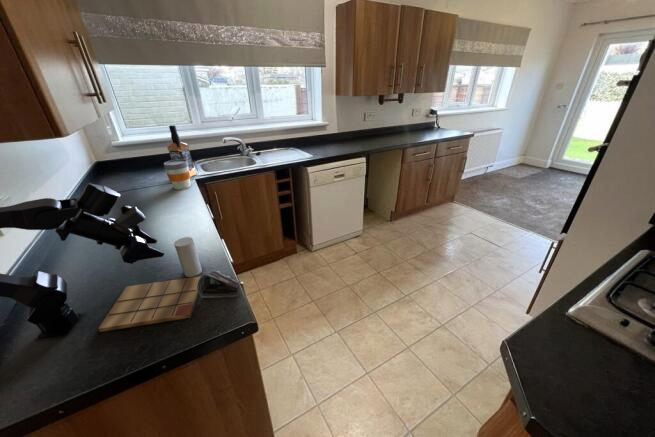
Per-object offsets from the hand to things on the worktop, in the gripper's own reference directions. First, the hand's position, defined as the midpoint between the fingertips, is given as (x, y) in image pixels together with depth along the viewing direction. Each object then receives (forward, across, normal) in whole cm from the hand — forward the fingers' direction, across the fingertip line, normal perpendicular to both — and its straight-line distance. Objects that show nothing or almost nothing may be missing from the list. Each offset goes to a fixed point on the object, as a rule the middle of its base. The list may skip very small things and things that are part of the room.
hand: (159, 248), depth 80 cm
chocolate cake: (+17, -15, +1) cm, 22 cm away
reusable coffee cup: (+28, +88, -10) cm, 93 cm away
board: (+5, -7, +13) cm, 16 cm away
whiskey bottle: (+34, +109, -16) cm, 115 cm away
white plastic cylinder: (+13, 0, +4) cm, 14 cm away
